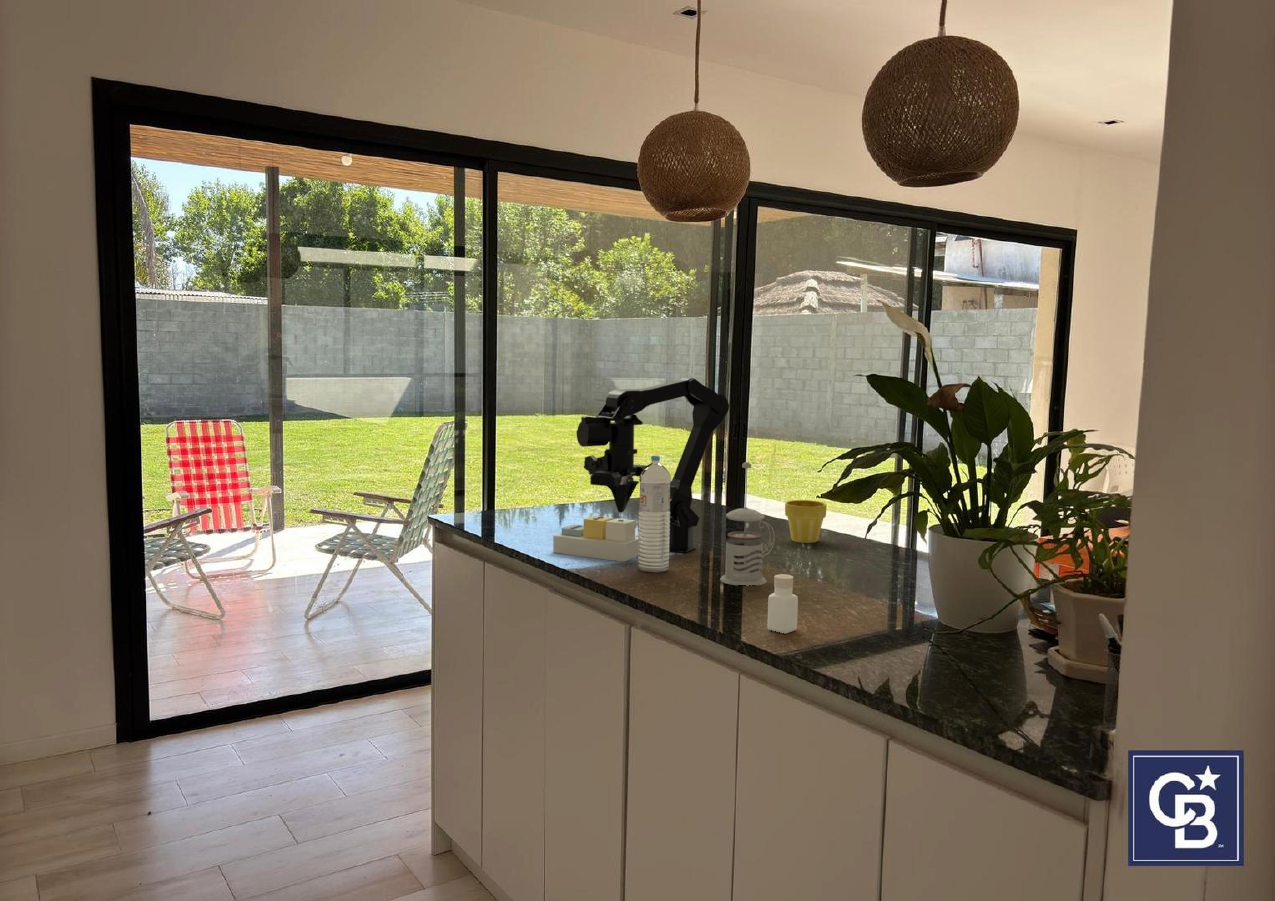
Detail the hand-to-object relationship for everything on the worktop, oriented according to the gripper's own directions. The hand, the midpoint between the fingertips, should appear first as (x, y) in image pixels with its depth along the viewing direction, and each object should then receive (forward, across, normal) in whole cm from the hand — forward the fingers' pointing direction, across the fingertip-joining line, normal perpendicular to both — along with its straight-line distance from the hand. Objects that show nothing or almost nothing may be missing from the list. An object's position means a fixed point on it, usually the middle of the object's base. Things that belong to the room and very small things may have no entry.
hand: (620, 512), depth 217 cm
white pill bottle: (+11, +37, +52) cm, 64 cm away
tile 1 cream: (+7, 0, 0) cm, 7 cm away
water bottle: (+11, +8, +13) cm, 18 cm away
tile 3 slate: (+10, 0, -12) cm, 15 cm away
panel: (+10, 0, -6) cm, 12 cm away
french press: (+11, +6, +34) cm, 36 cm away
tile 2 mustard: (+7, 0, -6) cm, 9 cm away
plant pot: (+11, -41, +31) cm, 53 cm away
